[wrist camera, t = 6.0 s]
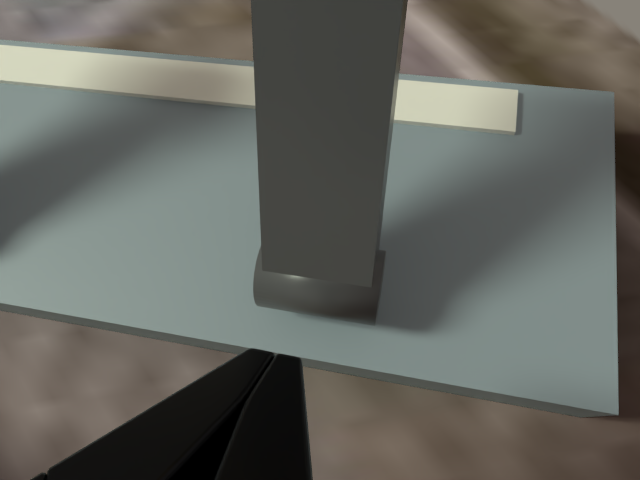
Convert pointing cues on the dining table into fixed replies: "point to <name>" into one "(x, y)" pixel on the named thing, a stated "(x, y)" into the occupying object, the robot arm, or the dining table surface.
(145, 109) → the switch panel
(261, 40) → the lever
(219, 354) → the dining table surface
